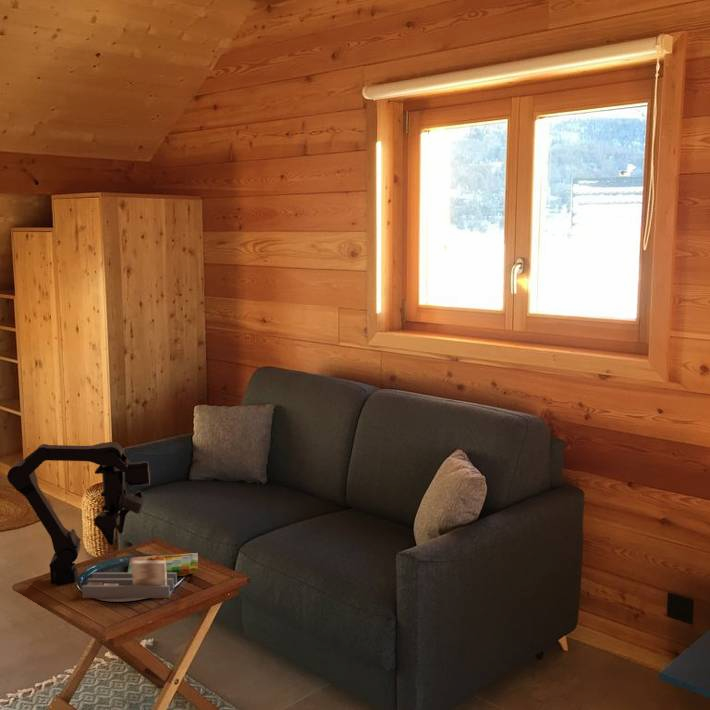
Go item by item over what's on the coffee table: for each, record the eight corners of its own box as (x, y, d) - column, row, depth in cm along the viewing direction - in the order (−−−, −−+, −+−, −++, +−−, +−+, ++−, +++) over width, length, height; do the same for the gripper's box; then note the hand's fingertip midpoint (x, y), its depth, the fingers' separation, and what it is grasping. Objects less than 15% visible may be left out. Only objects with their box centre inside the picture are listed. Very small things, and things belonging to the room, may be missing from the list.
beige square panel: (133, 594, 244) (131, 563, 242) (135, 591, 246) (133, 560, 244) (165, 594, 243) (164, 563, 242) (167, 591, 245) (165, 560, 244)
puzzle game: (129, 555, 264) (197, 550, 267) (130, 570, 264) (198, 565, 268) (127, 570, 252) (197, 565, 256) (127, 586, 253) (198, 580, 256)
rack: (82, 602, 242) (81, 587, 241) (93, 587, 252) (92, 572, 251) (169, 602, 241) (168, 587, 241) (177, 587, 251) (176, 572, 251)
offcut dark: (86, 594, 244) (85, 585, 243) (88, 590, 246) (88, 582, 246) (100, 594, 244) (100, 585, 243) (103, 590, 246) (102, 582, 245)
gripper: (132, 497, 242) (135, 551, 244) (149, 476, 260) (152, 527, 263) (92, 497, 242) (95, 551, 244) (112, 477, 260) (115, 527, 263)
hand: (116, 538), depth 254 cm, fingers open, 9 cm apart
